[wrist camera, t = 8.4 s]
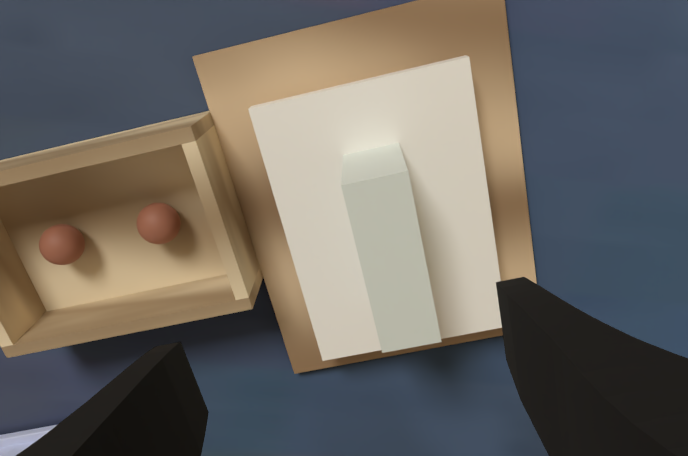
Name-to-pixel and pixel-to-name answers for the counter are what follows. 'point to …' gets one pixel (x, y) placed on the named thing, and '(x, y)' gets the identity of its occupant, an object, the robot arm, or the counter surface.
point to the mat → (349, 66)
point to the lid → (385, 207)
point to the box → (121, 237)
